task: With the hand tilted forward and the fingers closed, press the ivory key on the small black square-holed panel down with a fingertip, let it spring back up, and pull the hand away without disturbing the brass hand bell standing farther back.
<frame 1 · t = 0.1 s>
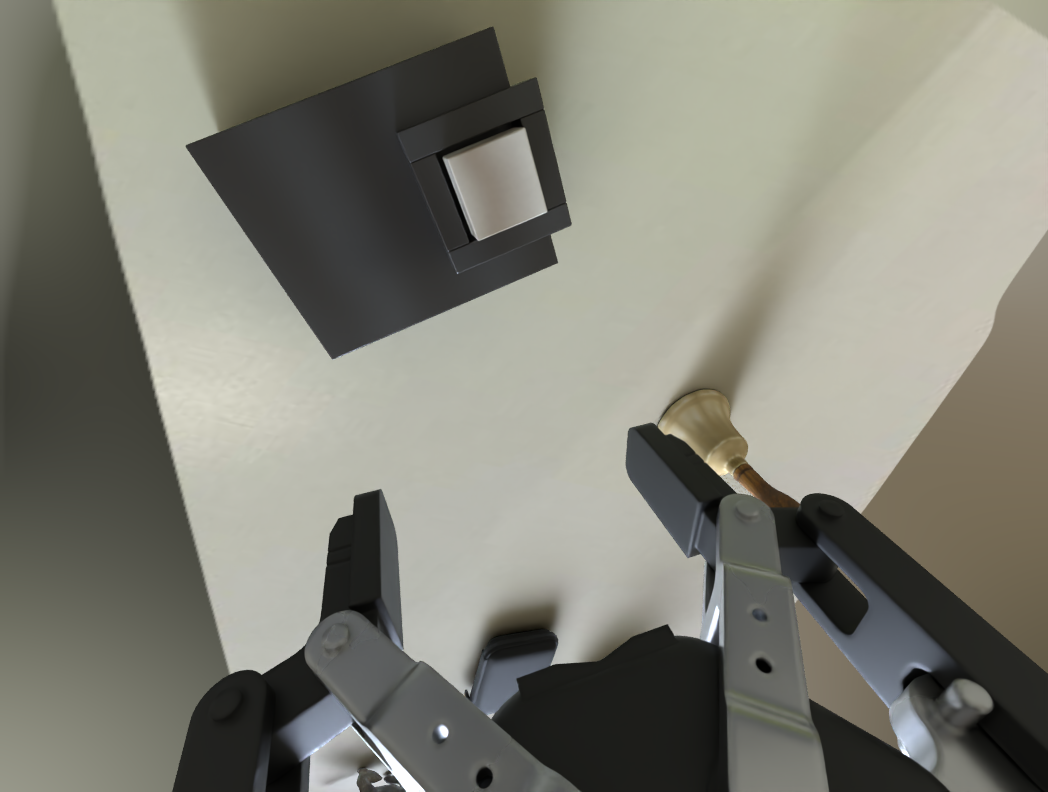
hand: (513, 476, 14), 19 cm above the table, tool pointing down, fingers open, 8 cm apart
dog figurine: (375, 769, 61), on the table
black square-holed panel: (398, 200, 26), on the table
hand bell: (690, 423, 43), on the table
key: (496, 184, 20), point 7 cm above the table, slide at 0.1 cm
carrying case: (505, 659, 56), on the table
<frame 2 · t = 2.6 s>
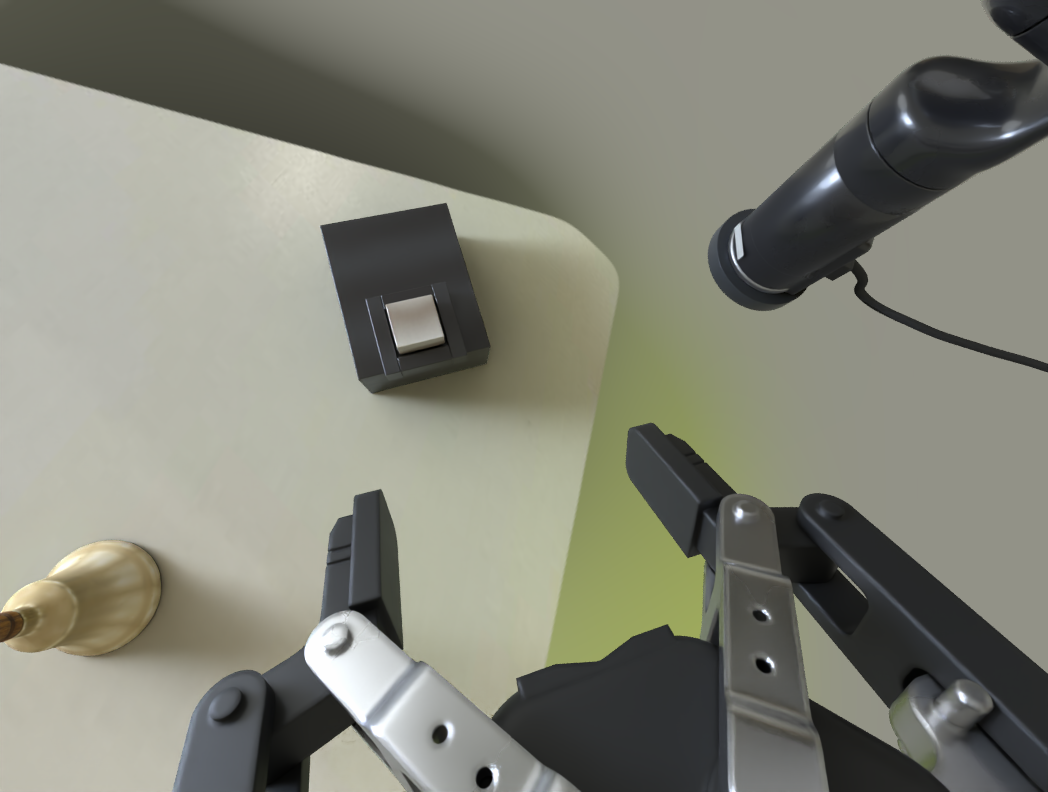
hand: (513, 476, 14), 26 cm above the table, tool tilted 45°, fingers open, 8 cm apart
black square-holed panel: (411, 310, 42), on the table
hand bell: (104, 595, 34), on the table
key: (415, 324, 34), point 7 cm above the table, slide at 0.1 cm
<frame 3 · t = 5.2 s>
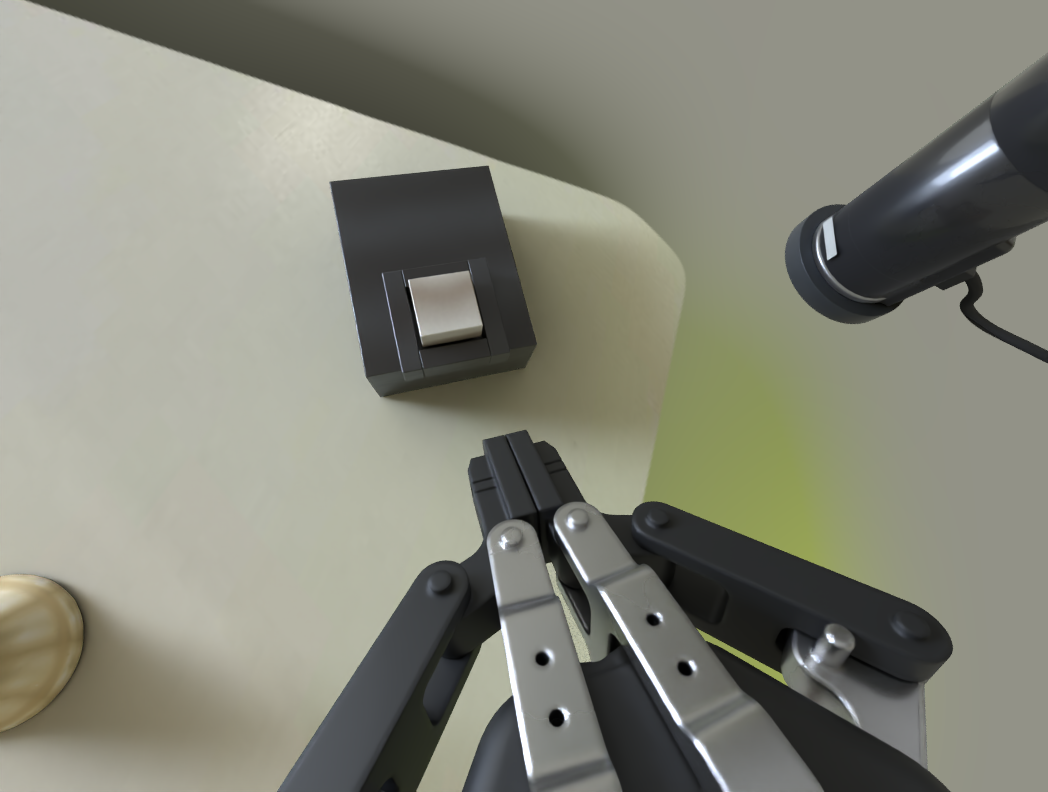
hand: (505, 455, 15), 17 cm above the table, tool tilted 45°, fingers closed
black square-holed panel: (435, 297, 34), on the table
hand bell: (5, 650, 25), on the table
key: (445, 308, 26), point 7 cm above the table, slide at 0.1 cm
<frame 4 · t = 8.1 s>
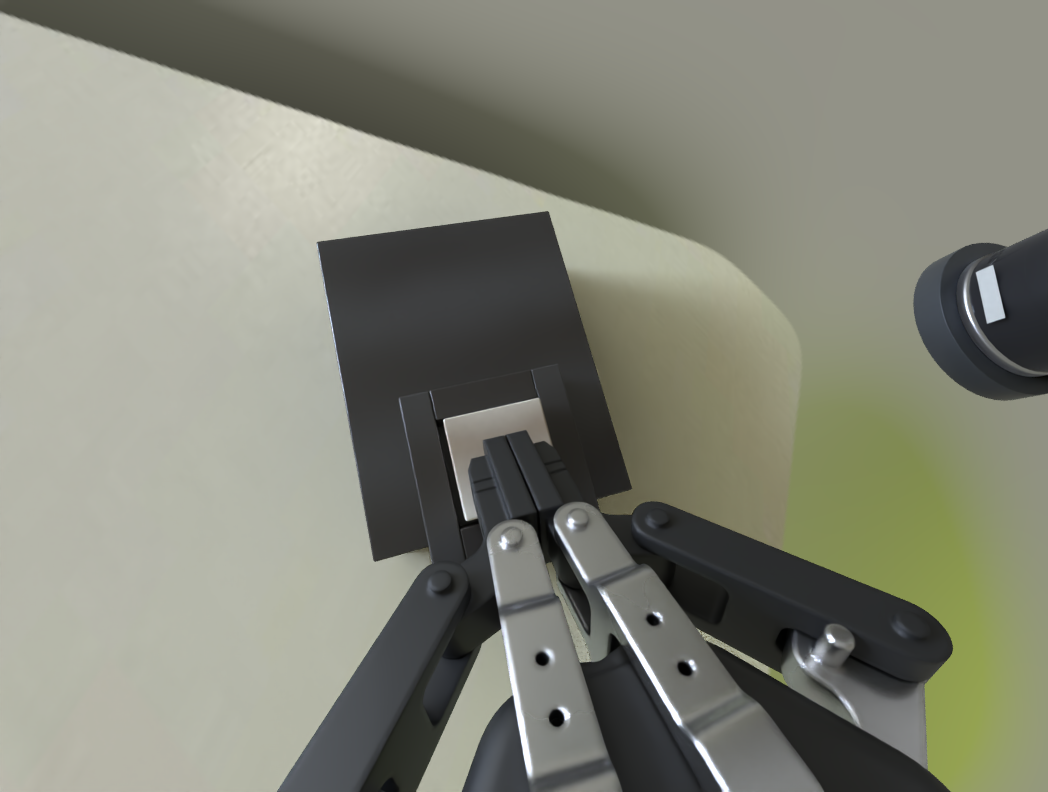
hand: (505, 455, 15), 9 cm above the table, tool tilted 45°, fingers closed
black square-holed panel: (469, 392, 24), on the table
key: (502, 458, 16), point 7 cm above the table, slide at 0.1 cm, touching gripper
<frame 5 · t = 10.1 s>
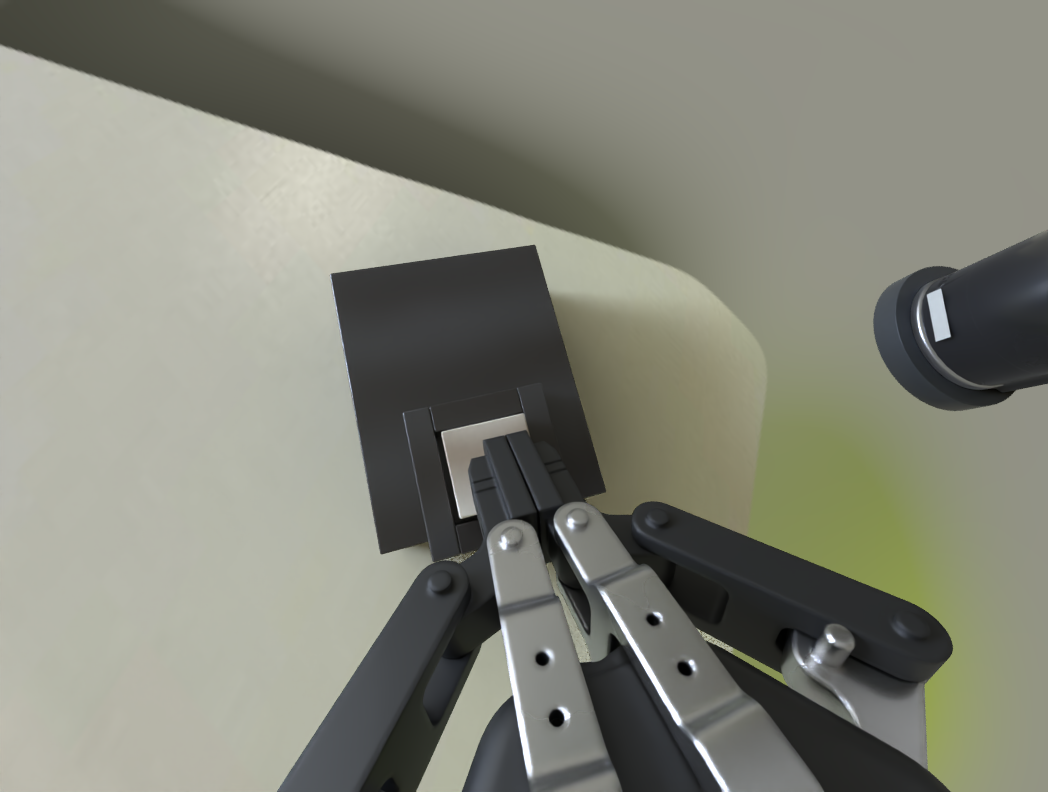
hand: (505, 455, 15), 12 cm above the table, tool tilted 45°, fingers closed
black square-holed panel: (464, 404, 27), on the table
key: (491, 465, 19), point 7 cm above the table, slide at 0.1 cm
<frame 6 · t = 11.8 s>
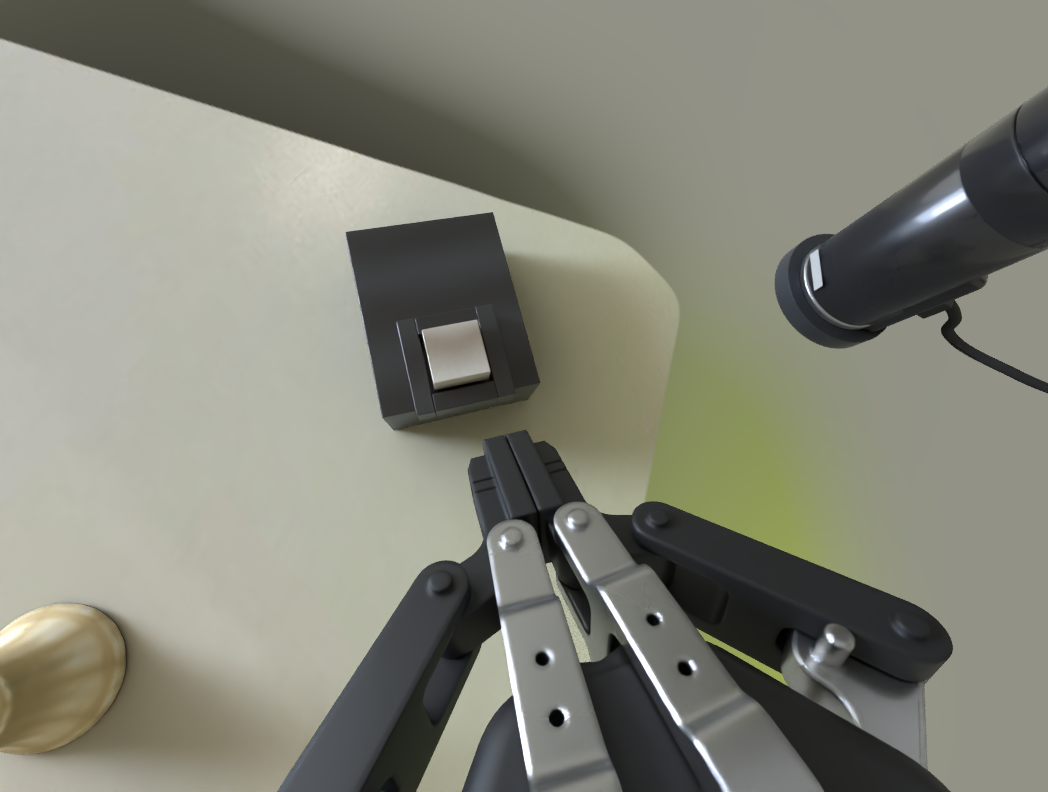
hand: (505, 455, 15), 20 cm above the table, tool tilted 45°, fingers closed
black square-holed panel: (443, 333, 36), on the table
hand bell: (54, 673, 27), on the table
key: (456, 355, 28), point 7 cm above the table, slide at 0.1 cm
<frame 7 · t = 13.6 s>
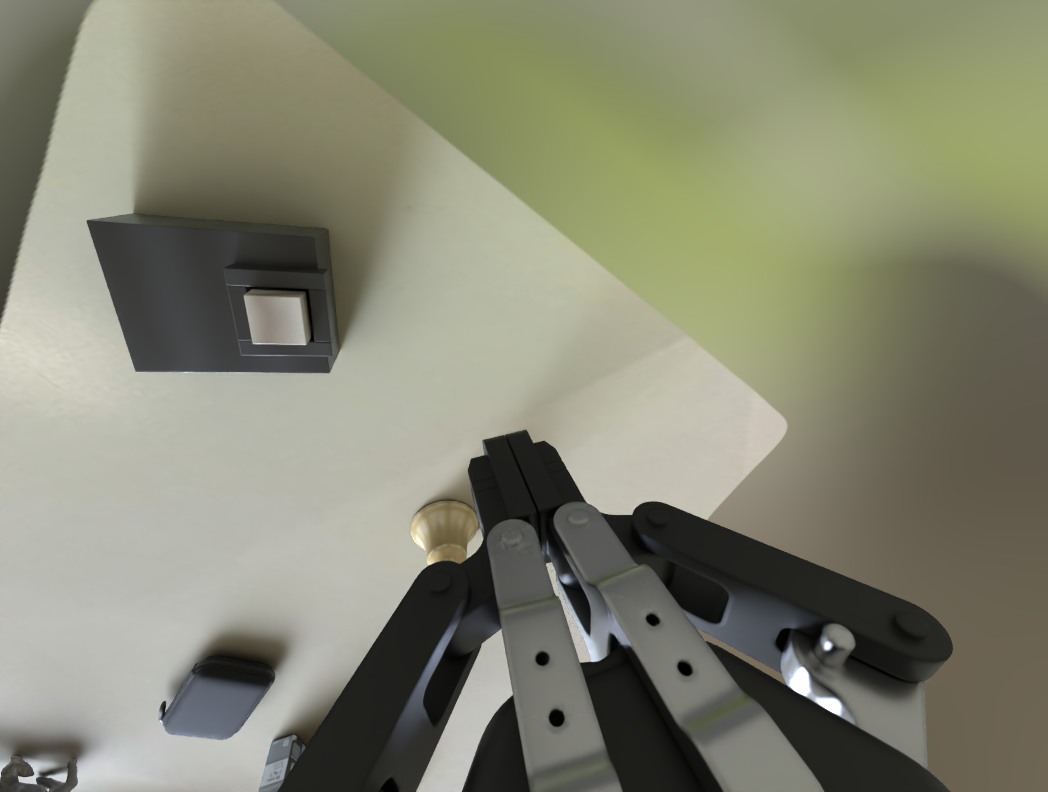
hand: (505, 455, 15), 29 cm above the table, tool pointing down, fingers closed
dog figurine: (32, 763, 58), on the table
black square-holed panel: (247, 289, 37), on the table
hand bell: (444, 524, 54), on the table
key: (279, 317, 32), point 7 cm above the table, slide at 0.1 cm
tape cartridge: (295, 748, 68), on the table
carrying case: (220, 684, 58), on the table
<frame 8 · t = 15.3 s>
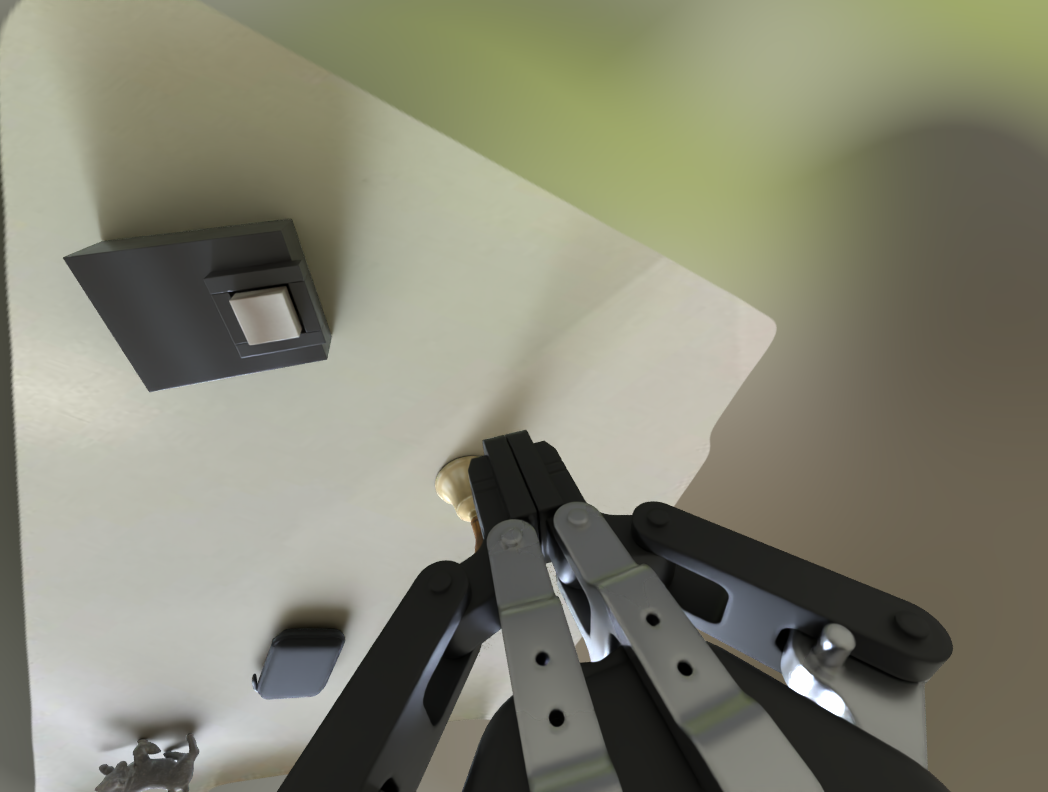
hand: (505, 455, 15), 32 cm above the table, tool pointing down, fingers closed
dog figurine: (157, 743, 67), on the table
black square-holed panel: (229, 294, 38), on the table
hand bell: (466, 479, 57), on the table
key: (267, 315, 33), point 7 cm above the table, slide at 0.1 cm
carrying case: (298, 652, 65), on the table
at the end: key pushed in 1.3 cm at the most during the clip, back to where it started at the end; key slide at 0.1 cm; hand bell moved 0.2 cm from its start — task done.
